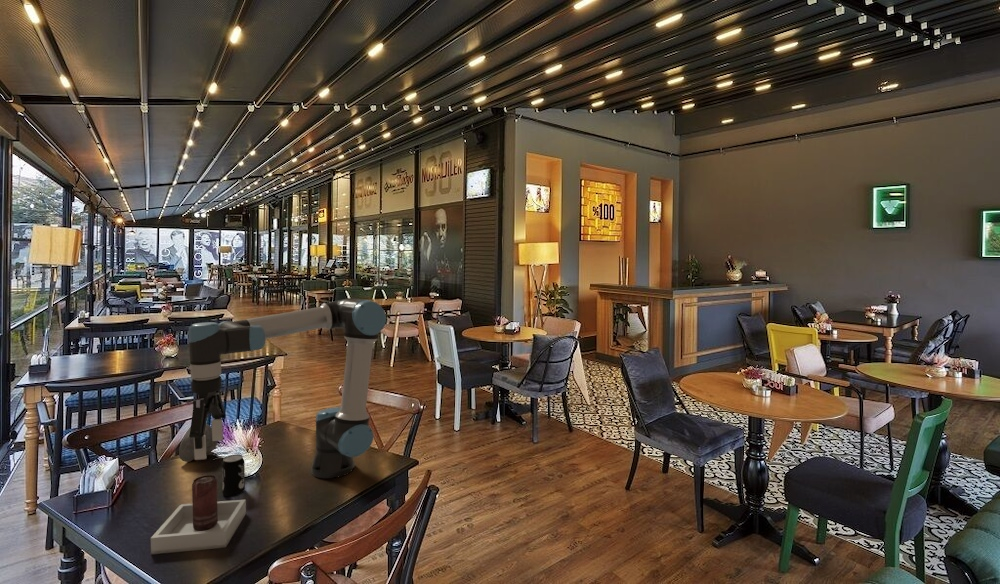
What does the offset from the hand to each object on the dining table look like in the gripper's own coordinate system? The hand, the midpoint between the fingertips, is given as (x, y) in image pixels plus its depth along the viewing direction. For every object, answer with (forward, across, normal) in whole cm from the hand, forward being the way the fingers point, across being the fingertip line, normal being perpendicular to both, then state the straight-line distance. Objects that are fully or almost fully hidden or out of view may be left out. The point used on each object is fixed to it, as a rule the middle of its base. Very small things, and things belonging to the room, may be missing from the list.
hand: (209, 449), depth 141 cm
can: (+22, +1, -2) cm, 23 cm away
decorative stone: (+24, -53, -22) cm, 62 cm away
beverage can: (+24, -21, -1) cm, 32 cm away
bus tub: (+23, +3, -2) cm, 23 cm away
